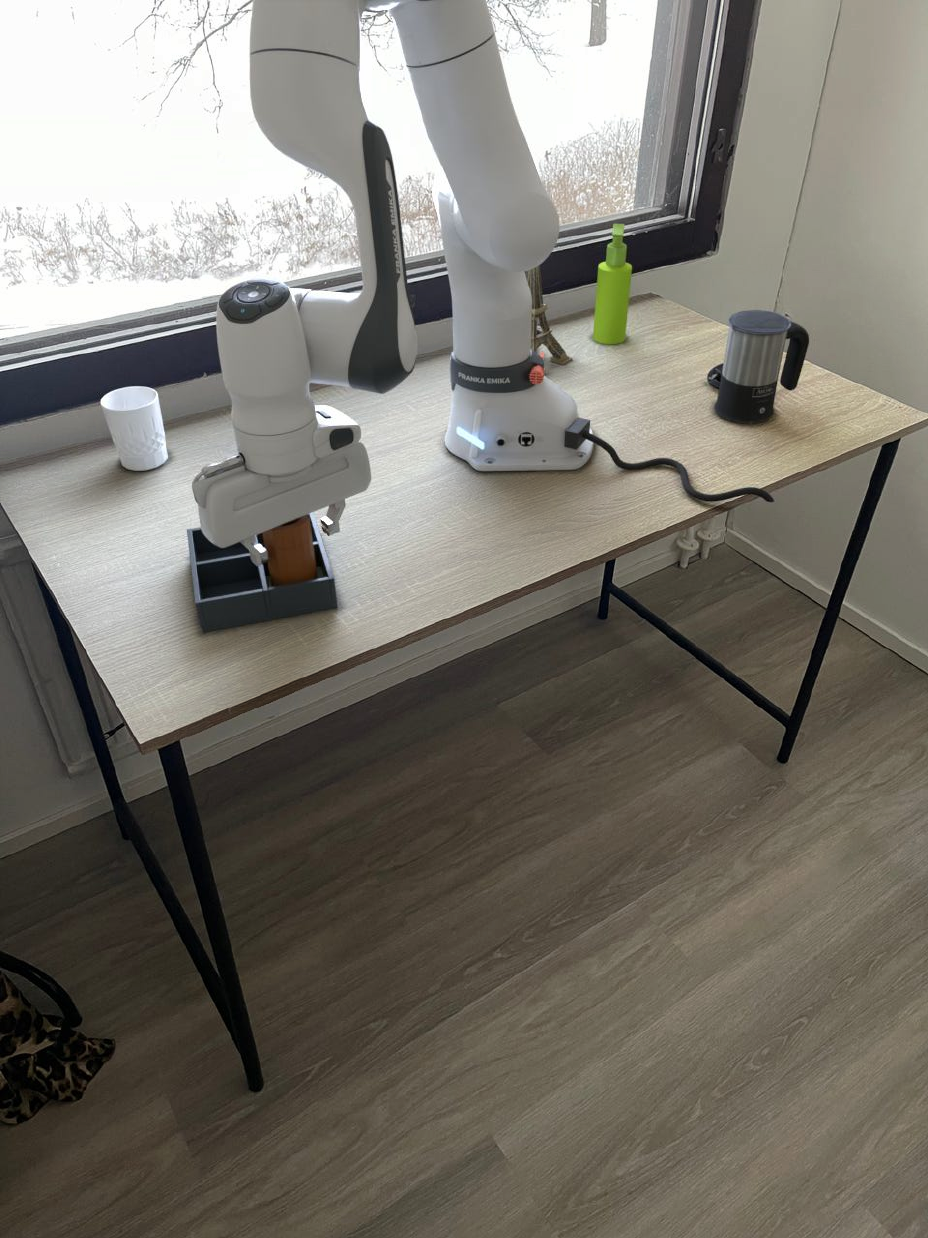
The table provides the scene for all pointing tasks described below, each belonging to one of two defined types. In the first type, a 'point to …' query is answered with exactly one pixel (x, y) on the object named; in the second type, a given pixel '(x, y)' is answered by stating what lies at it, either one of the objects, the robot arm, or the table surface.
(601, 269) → the soap dispenser
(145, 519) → the table surface
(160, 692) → the table surface
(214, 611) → the compartment tray
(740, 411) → the milk frother
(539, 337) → the eiffel tower
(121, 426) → the white cup
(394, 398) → the table surface
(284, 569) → the jar
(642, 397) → the table surface
